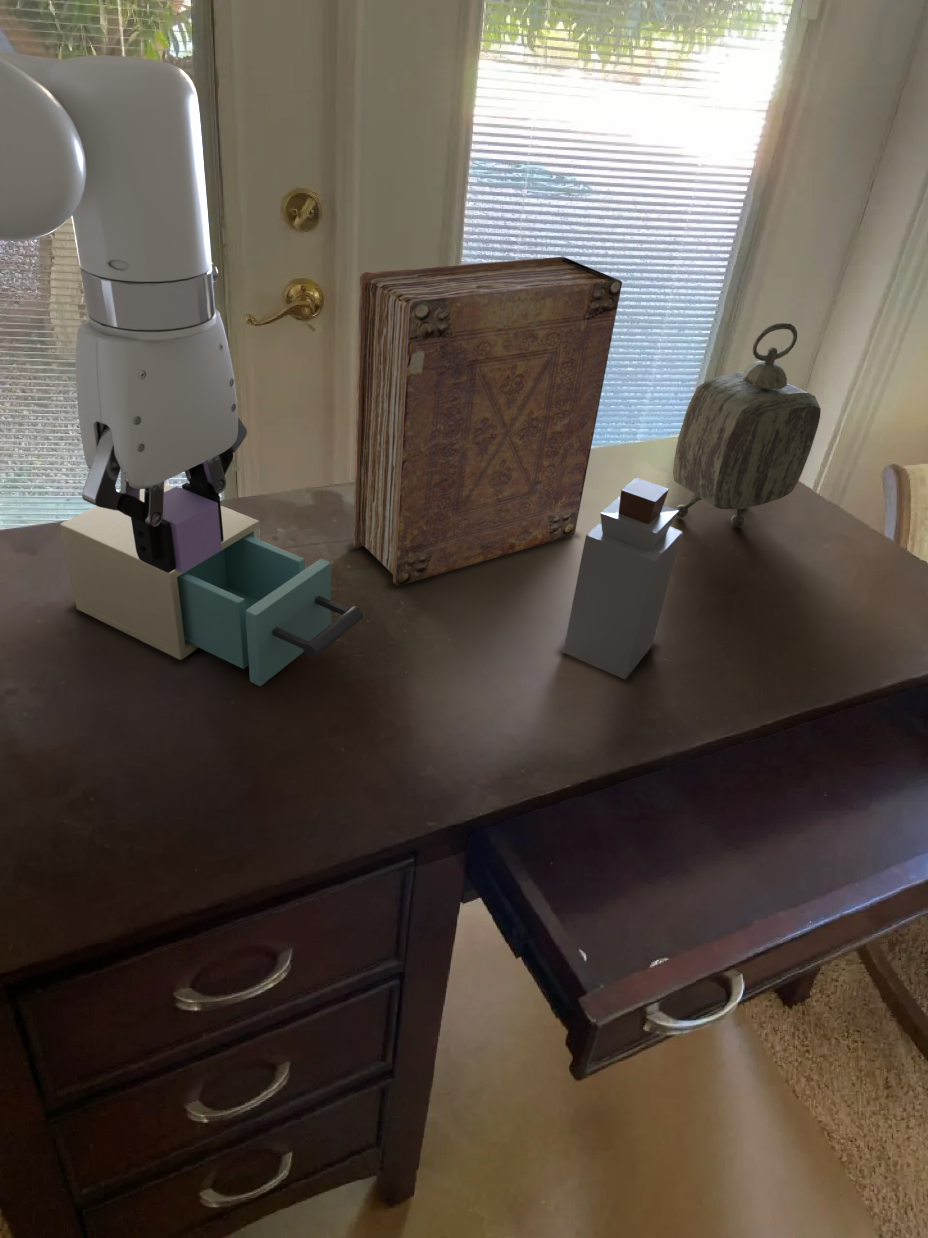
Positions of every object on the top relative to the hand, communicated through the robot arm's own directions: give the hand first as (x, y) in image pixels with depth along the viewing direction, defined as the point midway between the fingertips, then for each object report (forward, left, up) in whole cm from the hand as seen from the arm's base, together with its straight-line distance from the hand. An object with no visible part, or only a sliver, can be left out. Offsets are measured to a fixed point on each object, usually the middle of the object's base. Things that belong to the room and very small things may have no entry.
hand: (181, 548), depth 65 cm
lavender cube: (0, 0, 0) cm, 0 cm away
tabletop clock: (+66, -27, -18) cm, 74 cm away
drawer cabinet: (+11, +14, -18) cm, 25 cm away
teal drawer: (+11, +3, -17) cm, 20 cm away
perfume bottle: (+31, -25, -18) cm, 44 cm away
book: (+41, -3, -18) cm, 45 cm away
